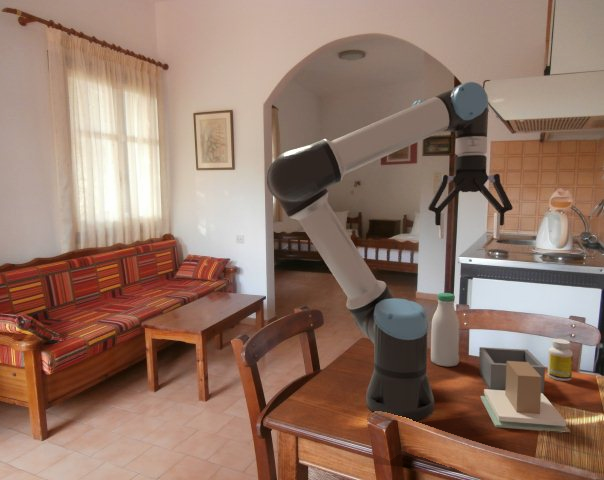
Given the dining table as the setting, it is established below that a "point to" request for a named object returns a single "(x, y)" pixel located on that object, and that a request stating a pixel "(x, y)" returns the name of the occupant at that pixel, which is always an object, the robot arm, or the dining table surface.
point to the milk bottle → (445, 332)
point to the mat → (517, 424)
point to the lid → (523, 398)
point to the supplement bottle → (560, 360)
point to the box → (504, 365)
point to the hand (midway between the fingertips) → (468, 238)
